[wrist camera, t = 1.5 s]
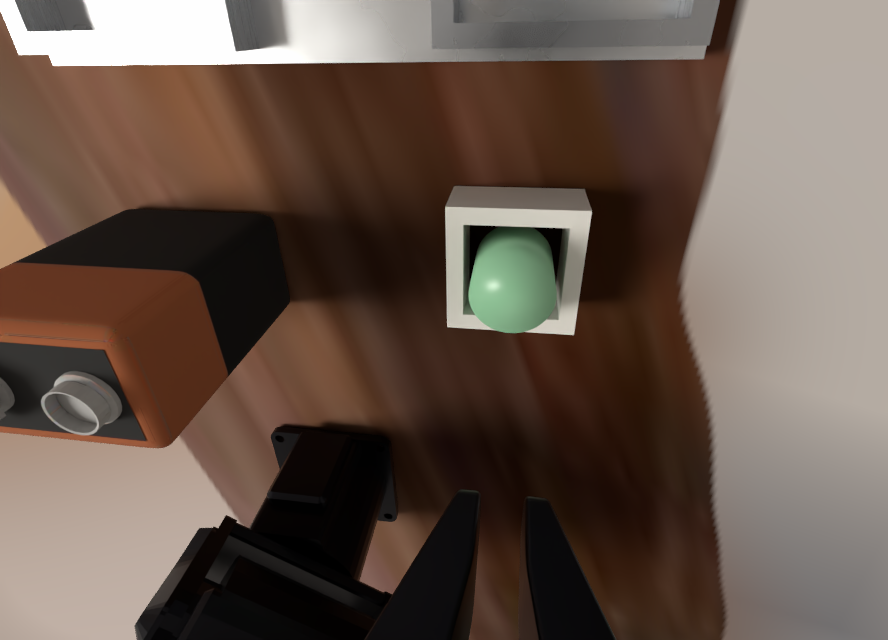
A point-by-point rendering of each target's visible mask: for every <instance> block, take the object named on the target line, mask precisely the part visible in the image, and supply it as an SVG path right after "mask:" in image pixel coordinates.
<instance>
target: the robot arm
mask: <svg viewBox="0 0 888 640" xmlns="http://www.w3.org/2000/svg"><path fill="white" fill-rule="evenodd" d="M271 440H272V443H273V447H274V450H275V454H276V457H277V461H278V464H279V468H280V471H279V472H278V474H277V476H276V478H275V480H274V482H273V483H272V485H271V487H270V489H269V491H268V493H267V496H266V498H265V500H264V502H263V504H262V506H261V507H260V509H259V511H258V513H257V515H256V517H255V518H254V520H253V522H252V524H251V526H250V528H247V527H245V526H243V525H241V524H238V523H236V522H237V520H235V519H233V518H231V517H229V516H227V515H226V516H225V518H224V520H223V521H222V523H221V525H220V526H219V528H216V527H213V528H200V529H199V530H198V531H197V533H196V534H195V536H194V537H193V539H192V540H191V542H190V543H189V545H188V547H187V548H186V550H185V552H184V553H183V554H182V556H181V557H180V559H179V561H178V562H177V563H176V565H175V567H174V568H173V569H172V571H171V572H170V574H169V575H168V577H167V578H166V580H165V581H164V583H163V584H162V585H161V587H160V588H159V590H158V591H157V593H156V594H155V596H154V597H153V598H152V600H151V601H150V603H149V604H148V606H147V607H146V609H145V610H144V612H143V613H142V615H141V616H140V618H139V619H138V621H137V623H136V625H135V631H136V637H137V640H469V634H470V628H471V622H472V614H473V605H474V593H475V580H476V568H477V555H478V542H479V530H480V507H481V494H480V492H478V491H474V490H465V489H460V490H458V491H457V492H456V494H455V495H454V497H453V498H452V500H451V502H450V503H449V505H448V506H447V508H446V510H445V511H444V513H443V514H442V516H441V518H440V519H439V521H438V522H437V524H436V526H435V527H434V529H433V530H432V532H431V534H430V535H429V537H428V539H427V540H426V542H425V543H424V545H423V547H422V548H421V550H420V551H419V553H418V555H417V556H416V558H415V559H414V561H413V563H412V564H411V566H410V567H409V569H408V571H407V572H406V574H405V575H404V577H403V579H402V580H401V582H400V583H399V585H398V587H397V588H396V590H395V591H394V593H393V595H392V594H390V593H388V592H384V593H383V592H381V591H379V590H377V589H375V588H373V587H371V586H368V585H366V584H364V583H362V582H360V581H359V580H360V577H361V573H362V570H363V567H364V563H365V560H366V556H367V553H368V550H369V546H370V543H371V540H372V536H373V533H374V530H375V526H376V523H377V520H379V521H387V522H393V521H395V520H396V518H397V515H398V504H397V495H396V485H395V476H394V466H393V456H392V447H391V442H390V440H389V439H388V438H386V437H383V436H375V435H365V434H354V433H343V432H333V431H322V430H311V429H300V428H290V427H277V428H275V430H274V431H273V433H272V435H271ZM380 445H381V446H380ZM518 627H519V640H616V639H615V636H614V634H613V632H612V630H611V628H610V626H609V624H608V622H607V620H606V618H605V616H604V614H603V612H602V610H601V607H600V605H599V603H598V601H597V599H596V597H595V595H594V593H593V591H592V589H591V587H590V585H589V583H588V580H587V578H586V576H585V574H584V572H583V570H582V568H581V566H580V564H579V562H578V560H577V558H576V556H575V553H574V551H573V549H572V547H571V545H570V543H569V541H568V539H567V537H566V535H565V533H564V531H563V529H562V527H561V524H560V522H559V520H558V518H557V516H556V514H555V512H554V510H553V508H552V506H551V504H550V502H549V501H548V500H547V499H546V498H540V497H530V496H528V497H526V498H525V499H524V505H523V514H522V524H521V542H520V576H519V610H518Z"/></svg>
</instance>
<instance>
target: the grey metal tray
mask: <svg viewBox="0 0 888 640" xmlns="http://www.w3.org/2000/svg"><path fill="white" fill-rule="evenodd" d="M719 2H720V0H0V10H1V13H2V15H3V17H4V20H5V22H6V25H7V27H8V29H9V32H10V34H11V36H12V39H13V41H14V44H15V46H16V48H17V51H18V53H19V55H38V54H49V56H50V59H51V61H52V64H53V66H67V65H167V64H266V63H366V62H466V61H565V60H665V59H704V55H705V51H706V47H707V45H710V41H711V36H712V32H713V28H714V24H715V19H716V15H717V11H718V7H719Z"/></svg>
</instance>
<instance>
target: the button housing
mask: <svg viewBox="0 0 888 640" xmlns="http://www.w3.org/2000/svg"><path fill="white" fill-rule="evenodd" d="M591 215H592V209H591V207H590V204H589V201H588V198H587V195H586V192H585V189H565V188H522V187H480V186H454V188H453V190H452V192H451V195H450V197H449V199H448V202H447V204H446V206H445V223H446V283H447V327H453V328H469V329H485V330H494V329H492V328H490V327H488V326H487V325H485V324H484V323H482V322H481V321H480V320H479V319H478V318H477V317H476V315H475V314H474V312H473V310H472V308H471V306H470V302H469V286H470V285H469V267H470V225H483V226H512V227H542V228H563V229H562V238H561V246H560V255H559V263H558V272H557V280H556V292H557V298H556V304H555V307H554V309H553V311H552V313H551V314H550V316H549V317H548V318H547V319H546V320H545V321H544V322H543V323H542V324H541V325H539V326H537V327H536V328H534V329H531V330H529V331H525V332H533V333H549V334H565V335H574V330H575V323H576V317H577V310H578V303H579V296H580V290H581V283H582V276H583V269H584V263H585V256H586V249H587V242H588V235H589V229H590V222H591Z"/></svg>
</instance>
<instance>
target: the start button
mask: <svg viewBox="0 0 888 640" xmlns="http://www.w3.org/2000/svg"><path fill="white" fill-rule="evenodd" d="M556 298H557V292H556V283H555V274H554V266H553V257H552V251H551V247H550V245H549V243H548V241H547V240H546V238H545V237H544V236H543V235H542V234H541V233H540V232H538V231H537V230H535V229H533V228H532V227H512V226H500V227H498V228H496V229H494V230H492V231H491V232H489V233H488V234H487V235H486V236H485V237H484V238H483V240H482V241H481V243H480V244H479V247H478V249H477V253H476V258H475V263H474V267H473V272H472V277H471V282H470V286H469V302H470V306H471V308H472V310H473V312H474V314H475V315H476V317H477V318H478V319H479V320H480V321H481V322H482V323H484V324H485V325H487V326H488V327H490V328H492V329H494V330H497V331H500V332H505V333H521V332H525V331H529V330H531V329H534V328H536V327H537V326H539V325H541V324H542V323H543V322H544V321H545V320H546V319H547V318H548V317H549V316H550V314H551V313H552V311H553V309H554V307H555V304H556Z"/></svg>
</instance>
